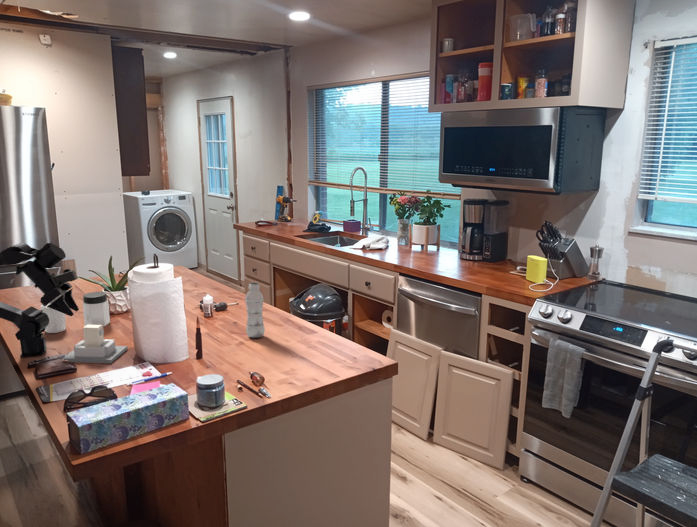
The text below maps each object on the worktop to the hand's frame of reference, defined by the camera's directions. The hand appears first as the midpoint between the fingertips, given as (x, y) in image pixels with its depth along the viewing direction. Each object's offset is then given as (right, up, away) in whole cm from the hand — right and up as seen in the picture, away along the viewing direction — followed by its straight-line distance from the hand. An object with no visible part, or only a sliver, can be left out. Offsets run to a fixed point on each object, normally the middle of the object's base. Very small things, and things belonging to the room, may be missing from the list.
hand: (75, 312), depth 182 cm
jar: (-6, -7, +30) cm, 32 cm away
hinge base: (+7, -14, +1) cm, 16 cm away
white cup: (-19, -9, +24) cm, 32 cm away
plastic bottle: (+56, -11, +20) cm, 60 cm away
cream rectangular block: (+7, -13, 0) cm, 14 cm away
